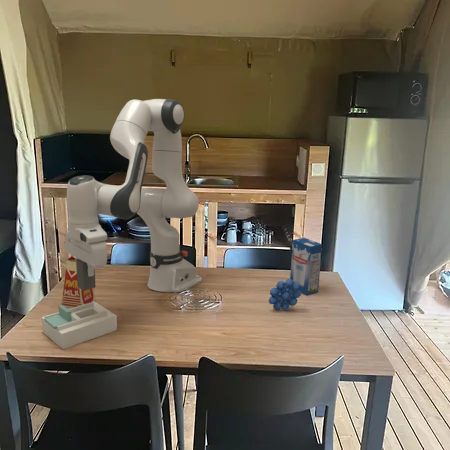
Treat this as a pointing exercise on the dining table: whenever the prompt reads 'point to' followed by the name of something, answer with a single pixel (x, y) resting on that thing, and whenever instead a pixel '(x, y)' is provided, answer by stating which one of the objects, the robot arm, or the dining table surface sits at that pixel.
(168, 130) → the robot arm
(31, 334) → the dining table surface
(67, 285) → the milk carton
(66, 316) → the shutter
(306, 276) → the milk carton
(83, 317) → the socket
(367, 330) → the dining table surface
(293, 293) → the grapes
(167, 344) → the dining table surface
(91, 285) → the plug
